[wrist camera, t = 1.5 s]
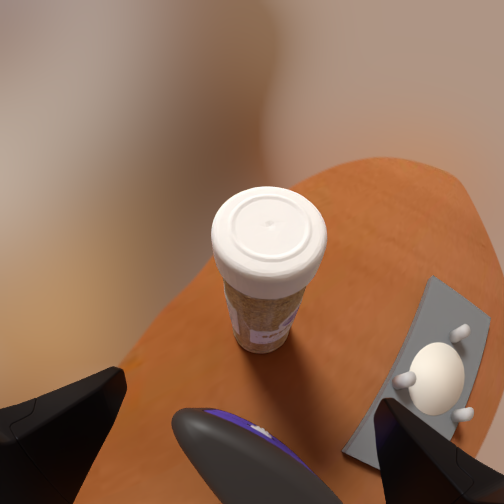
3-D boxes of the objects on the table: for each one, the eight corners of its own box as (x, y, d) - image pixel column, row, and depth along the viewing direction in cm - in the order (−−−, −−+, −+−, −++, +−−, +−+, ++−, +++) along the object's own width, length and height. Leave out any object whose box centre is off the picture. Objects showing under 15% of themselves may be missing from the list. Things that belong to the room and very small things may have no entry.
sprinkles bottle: (277, 362, 20) (311, 298, 9) (223, 341, 21) (187, 253, 10) (296, 311, 23) (339, 200, 11) (245, 292, 24) (238, 170, 12)
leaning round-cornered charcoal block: (357, 523, 13) (409, 566, 4) (309, 552, 11) (338, 609, 3) (246, 385, 20) (241, 371, 12) (195, 414, 18) (154, 418, 10)
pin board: (417, 485, 14) (436, 490, 11) (341, 451, 16) (354, 456, 14) (485, 321, 21) (502, 310, 19) (428, 279, 24) (443, 265, 21)
